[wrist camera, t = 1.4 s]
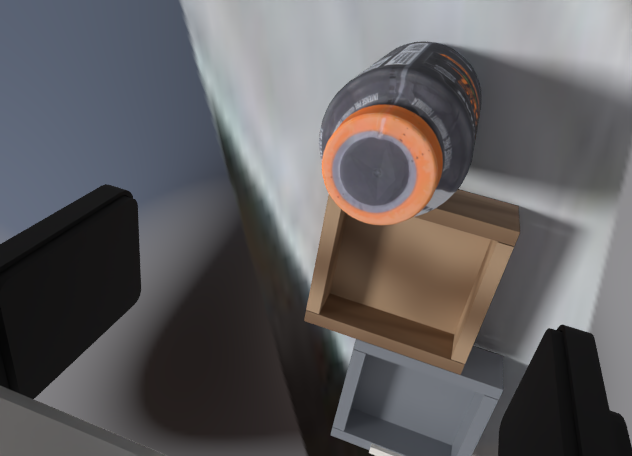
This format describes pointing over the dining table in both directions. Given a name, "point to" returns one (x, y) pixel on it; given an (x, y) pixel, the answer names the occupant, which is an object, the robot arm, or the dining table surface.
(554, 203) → the dining table surface
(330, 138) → the pill bottle
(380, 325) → the brown wooden open tray
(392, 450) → the gray square open tray
